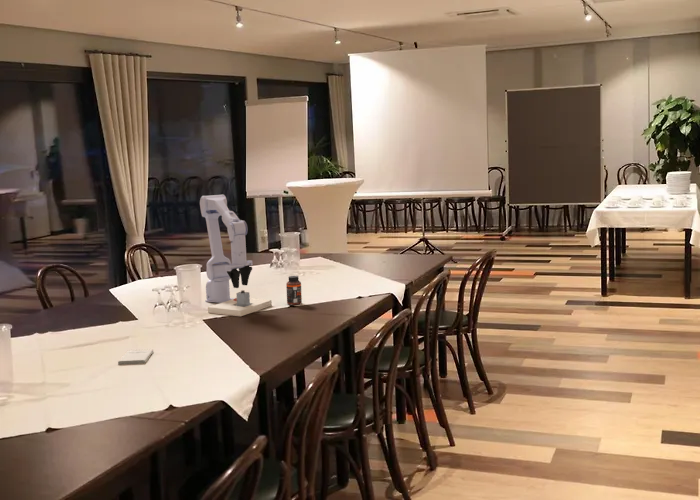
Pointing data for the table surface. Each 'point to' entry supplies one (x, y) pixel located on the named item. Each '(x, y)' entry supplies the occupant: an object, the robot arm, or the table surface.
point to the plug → (243, 299)
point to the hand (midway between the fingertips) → (240, 286)
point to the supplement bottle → (294, 291)
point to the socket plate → (239, 307)
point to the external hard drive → (135, 356)
